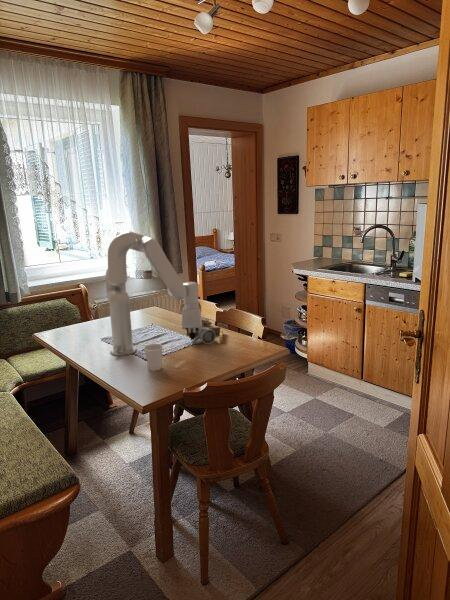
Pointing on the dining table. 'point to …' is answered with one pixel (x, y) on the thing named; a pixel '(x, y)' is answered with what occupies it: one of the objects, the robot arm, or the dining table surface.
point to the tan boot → (204, 323)
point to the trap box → (216, 329)
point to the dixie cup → (154, 356)
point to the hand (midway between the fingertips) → (192, 339)
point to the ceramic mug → (205, 336)
